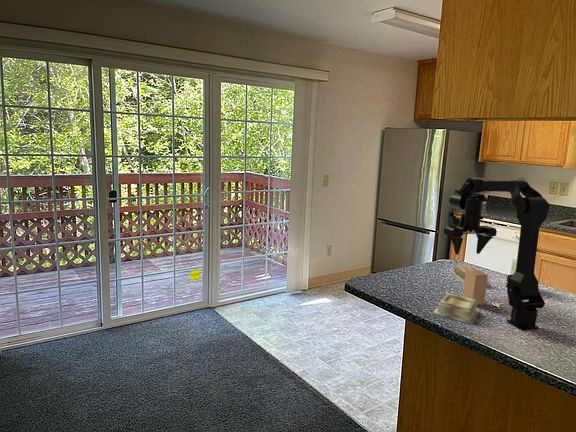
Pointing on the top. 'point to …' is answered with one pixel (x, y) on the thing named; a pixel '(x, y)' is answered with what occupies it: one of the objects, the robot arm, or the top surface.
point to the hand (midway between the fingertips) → (467, 254)
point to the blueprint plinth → (457, 308)
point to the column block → (475, 285)
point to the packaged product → (462, 272)
